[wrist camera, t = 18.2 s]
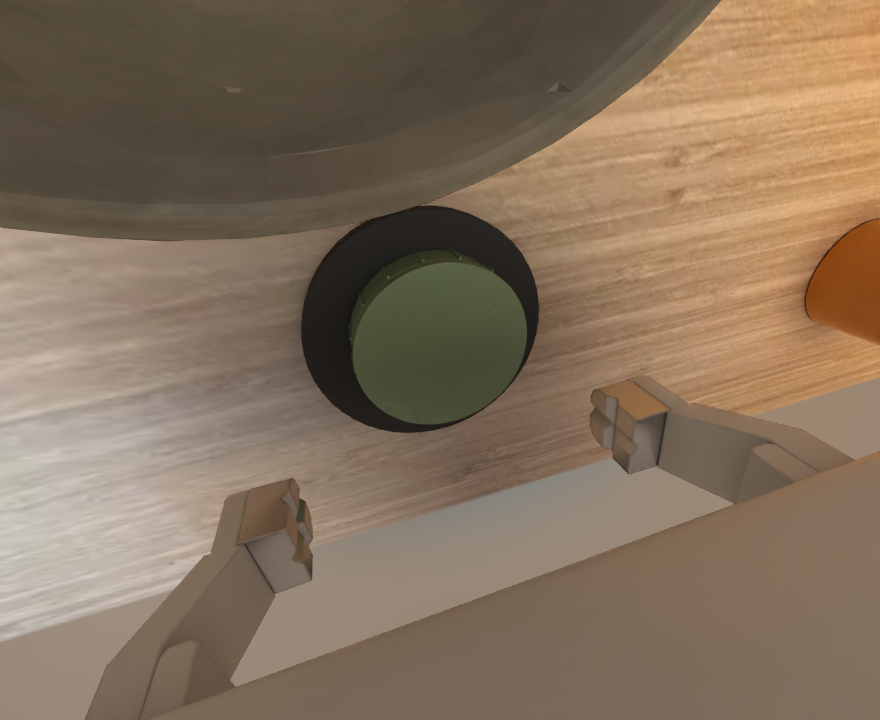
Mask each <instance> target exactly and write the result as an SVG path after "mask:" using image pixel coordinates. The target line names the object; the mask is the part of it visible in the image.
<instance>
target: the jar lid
mask: <svg viewBox="0 0 880 720" xmlns="http://www.w3.org/2000/svg"><path fill="white" fill-rule="evenodd" d="M493 271H494V270H493V269H492V268H491V267H489V266H488V265H487V264H485V263H484V262H482V261H481V260H479V262H478V261H477V260H475V259H473V258H471V257H469V256H467V255H465V254H461V253H458V252H455V251H454V250H452V249H449V251H448V250H427V251H420V252H418V251H417V250H416V251H414V253H413V254H409V255H407V256H404V257H402V258H399V259H398V260H396V261H394V262H392V263H390V264H389V265H387V266H386V267H384V266H382V270H381V271H379V272H378V273H377V274H376V275H375V276H374V277H373V278H372V279H371V280H370V281H369V283H368V284H367V285H366V287H365V288H364V289H363V291H362V292H361V293H360V292H359V293H358V297H359V298H358V299H357V302H356V304H355V307H354V309H353V313H352V317H351V321H350V324H348V331H349V338H350V345H351V351H352V355H351V359H352V366H353V371H354V372H355V373H356V376H357V379H358V382H359V384H360V386H361V388H362V389H363V391H364V393H365V394H366V395H367V397H368V398H369V399H370V400H371V401H372V402H373V403H374V404H375V405H376V406H377V407H378V408H380V409H381V410H382V411H384V412H385V413H387V414H389V415H391V416H393V417H395V418H397V419H400V420H403V421H406V422H410V423H416V424H441V423H447V422H452V421H455V420H459V419H462V418H464V417H467V416H469V415H471V414H473V413H475V412H477V411H479V410H480V409H482V408H484V407H485V406H486V405H488V404H489V403H491V402H492V401H493V400H494V399H495V398H496V397H498V396H499V395H500V394H501V393H502V391H503V390H504V389H505V388H506V387H507V386H508V384H509V383H510V382H511V380H512V379H513V377H514V376H515V374H516V372H517V370H518V368H519V366H520V364H521V362H522V359H523V355H524V352H525V347H526V341H527V325H526V318H525V314H524V310H523V308H522V305H521V303H520V301H519V299H518V297H517V296H516V294H515V292H514V291H513V290H512V289H511V287H510V286H509V285H508V284H507V283H506V282H505V281H503V280H502V279H501V278H500V277H499V276H497V275H496V274H495V273H493Z"/></svg>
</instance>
